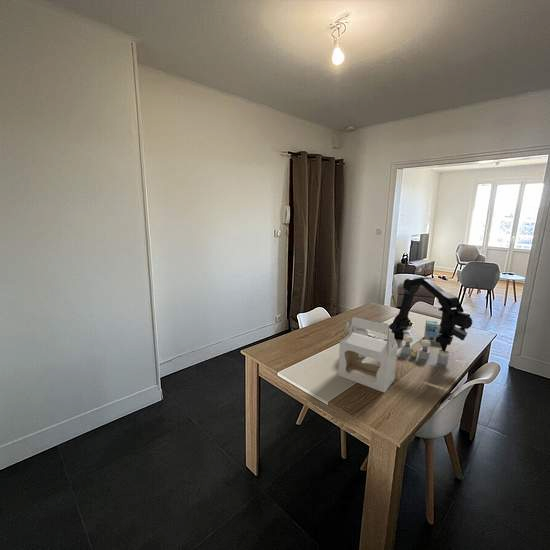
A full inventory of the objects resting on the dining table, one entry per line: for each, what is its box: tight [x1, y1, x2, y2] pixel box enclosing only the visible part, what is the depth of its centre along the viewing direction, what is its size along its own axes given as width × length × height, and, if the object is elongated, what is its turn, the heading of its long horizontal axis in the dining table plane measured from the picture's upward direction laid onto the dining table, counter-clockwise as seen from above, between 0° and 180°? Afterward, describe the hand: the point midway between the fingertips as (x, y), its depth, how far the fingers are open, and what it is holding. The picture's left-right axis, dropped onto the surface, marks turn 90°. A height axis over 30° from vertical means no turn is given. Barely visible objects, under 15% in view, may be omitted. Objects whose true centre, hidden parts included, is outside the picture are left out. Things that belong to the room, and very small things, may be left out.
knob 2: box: [438, 348, 450, 358], centre depth 148 cm, size 4×4×6 cm
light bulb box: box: [423, 319, 441, 342], centre depth 178 cm, size 11×7×11 cm, turn 68°
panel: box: [397, 343, 453, 371], centre depth 153 cm, size 24×13×5 cm, turn 53°
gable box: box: [337, 316, 399, 394], centre depth 134 cm, size 22×13×28 cm, turn 51°
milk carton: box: [353, 326, 369, 359], centre depth 157 cm, size 7×7×19 cm
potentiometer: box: [410, 349, 418, 360], centre depth 153 cm, size 3×3×4 cm
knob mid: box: [420, 339, 431, 352], centre depth 153 cm, size 4×4×6 cm
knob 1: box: [403, 335, 414, 347], centre depth 158 cm, size 4×4×6 cm
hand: (443, 350), depth 148 cm, fingers closed, pressing on knob 2
